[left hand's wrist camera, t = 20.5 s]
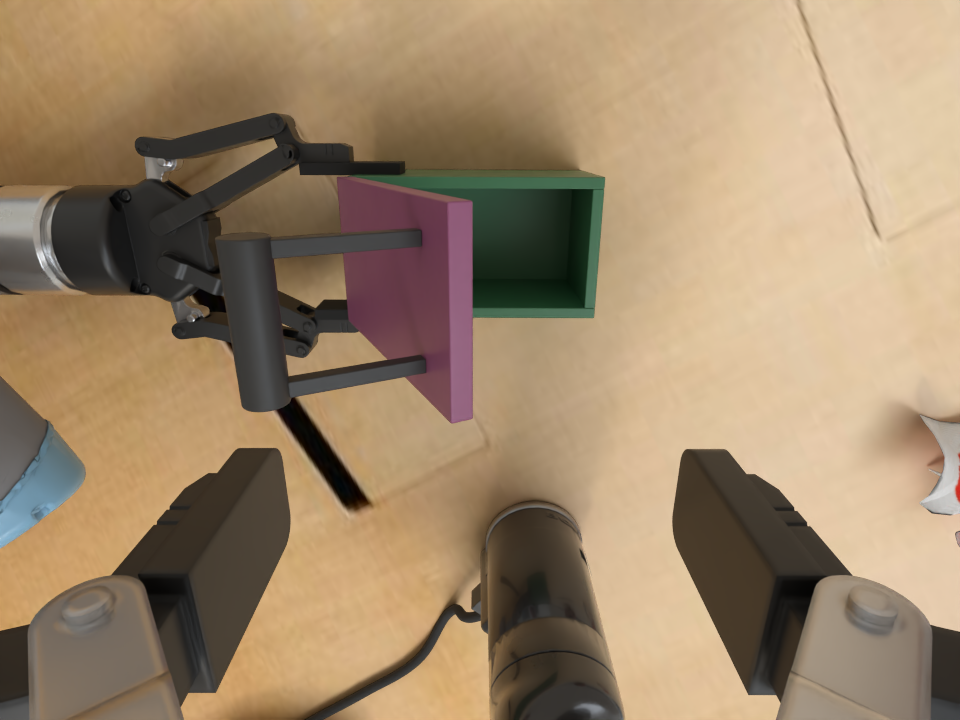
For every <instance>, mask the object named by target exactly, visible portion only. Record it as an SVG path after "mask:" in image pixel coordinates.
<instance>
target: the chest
mask: <svg viewBox="0 0 960 720" xmlns="http://www.w3.org/2000/svg"><path fill="white" fill-rule="evenodd" d="M348 177H357V178H362V179H367V180H372V181H377V182H382V183H387V184H392V185H397V186H402V187H407V188H412V189H417V190H422V191H427V192H432V193H437V194H442V195H446V196H451V197H456V198H461V199H466V200H471V201H472V221H473V318H594V311H595V299H596V286H597V274H598V261H599V248H600V236H601V223H602V210H603V198H604V186H605V177H602V176H598V175H595V174H592V173H588V172H585V171H581V170H426V169H405V173H403V174H401V175H351V176H348Z"/></svg>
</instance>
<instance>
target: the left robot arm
mask: <svg viewBox="0 0 960 720" xmlns="http://www.w3.org/2000/svg"><path fill="white" fill-rule="evenodd" d="M672 523H673V534H674V539H675V543H676V546H677V548H678V551H679V553H680V555H681V557H682V559H683V561H684V563H685V565H686V567H687V569H688V571H689V573H690V575H691V577H692V579H693V581H694V584H695V586H696V588H697V590H698V592H699V594H700V596H701V598H702V600H703V602H704V604H705V606H706V608H707V610H708V612H709V614H710V617H711V619H712V621H713V623H714V625H715V627H716V629H717V631H718V633H719V635H720V637H721V639H722V641H723V643H724V645H725V647H726V649H727V652H728V654H729V656H730V658H731V660H732V662H733V664H734V666H735V668H736V670H737V672H738V674H739V676H740V678H741V680H742V682H743V685H744V687H745V689H746V691H747V693H748V695H777V697H778V699H779V701H780V703H781V704H780V708H779V711H778V715H777V718H776V720H960V632H958V631H954V630H949V629H945V628H940V627H936V626H933V625H930V624H929V621H928V620H927V618H926V617H925V615H924V614H923V613H922V612H921V611H920V610H919V609H918V608H917V607H916V606H915V605H914V604H913V603H912V602H911V601H909V600H908V599H906V598H905V597H904V596H902V595H901V594H899V593H897V592H896V591H894V590H892V589H890V588H888V587H886V586H884V585H882V584H879V583H877V582H874V581H871V580H868V579H865V578H860V577H856V576H852V574H851V573H850V572H849V571H848V570H847V569H846V567H845V566H844V565H843V564H842V563H841V562H840V560H839V559H838V558H837V557H836V556H835V555H834V553H833V552H832V551H831V550H830V549H829V548H828V546H827V545H826V544H825V543H824V542H823V541H822V539H821V538H820V537H819V536H818V535H817V534H816V532H815V531H814V530H813V529H812V528H811V527H810V526H807V522H806V521H805V520H804V518H803V517H802V516H801V515H800V514H799V513H798V511H794V507H793V506H792V504H791V503H790V502H789V501H788V500H787V499H786V497H785V496H784V495H783V494H782V493H781V492H780V490H779V489H777V488H775V487H774V486H772V485H771V484H769V483H768V482H766V481H765V480H763V479H761V478H760V477H758V476H757V475H755V474H746V473H745V472H744V471H743V469H742V468H741V467H740V466H739V464H738V463H737V462H736V461H735V459H734V458H733V457H732V456H731V454H730V453H729V452H728V451H727V450H725V449H686V450H685V451H684V452H683V454H682V457H681V462H680V468H679V475H678V482H677V489H676V496H675V503H674V510H673V520H672ZM289 532H290V509H289V502H288V495H287V488H286V481H285V474H284V467H283V461H282V456H281V453H280V451H279V450H278V449H277V448H238V449H236V450H235V451H234V453H233V454H232V455H231V456H230V458H229V459H228V460H227V461H226V463H225V464H224V465H223V466H222V468H221V469H220V470H219V471H218V473H208V474H207V475H205V476H203V477H202V478H200V479H199V480H197V481H196V482H194V483H193V484H191V485H189V486H188V487H186V488H185V489H184V490H183V491H182V492H181V494H180V495H179V496H178V497H177V498H176V499H175V501H174V502H173V503H172V504H171V505H170V509H169V510H166V511H165V512H164V514H163V515H162V516H161V517H160V518H159V519H158V521H157V525H153V527H152V528H151V529H150V530H149V531H148V532H147V534H146V535H145V536H144V537H143V538H142V540H141V541H140V542H139V543H138V544H137V545H136V547H135V548H134V549H133V550H132V551H131V552H130V554H129V555H128V556H127V557H126V558H125V560H124V561H123V562H122V563H121V564H120V565H119V567H118V568H117V569H116V570H115V571H114V572H113V574H112V575H111V576H104V577H100V578H95V579H92V580H89V581H86V582H83V583H81V584H78V585H76V586H74V587H72V588H70V589H68V590H66V591H64V592H63V593H61V594H59V595H58V596H56V597H55V598H54V599H52V600H51V601H49V602H48V603H47V604H46V605H45V606H44V607H43V608H42V609H41V610H40V611H39V612H38V613H37V614H36V615H35V617H34V618H33V620H32V621H31V624H29V625H24V626H20V627H16V628H11V629H7V630H2V631H0V720H184V718H183V715H182V711H181V708H180V707H181V705H182V704H183V702H184V700H185V698H186V696H187V694H188V693H216V691H217V689H218V687H219V685H220V683H221V681H222V679H223V677H224V675H225V672H226V670H227V668H228V666H229V664H230V662H231V660H232V658H233V656H234V654H235V652H236V649H237V647H238V645H239V643H240V641H241V639H242V637H243V635H244V633H245V631H246V629H247V627H248V624H249V622H250V620H251V618H252V616H253V614H254V612H255V610H256V608H257V606H258V604H259V601H260V599H261V597H262V595H263V593H264V591H265V589H266V587H267V585H268V583H269V581H270V579H271V576H272V574H273V572H274V570H275V568H276V566H277V564H278V562H279V560H280V558H281V556H282V553H283V551H284V549H285V547H286V545H287V542H288V538H289ZM583 549H584V548H583V546H582V538H581V534H580V530H579V527H578V525H577V523H576V521H575V520H574V518H573V517H572V516H571V515H570V514H569V513H568V512H566V511H565V510H564V509H562V508H560V507H558V506H556V505H554V504H550V503H546V502H540V501H530V502H523V503H519V504H516V505H513V506H511V507H509V508H507V509H505V510H504V511H502V512H501V513H500V514H499V515H498V516H497V517H496V518H495V519H494V520H493V521H492V523H491V524H490V526H489V528H488V531H487V534H486V548H485V549H484V550H483V551H482V552H481V583H480V584H479V585H478V586H477V587H476V588H474V589H473V590H472V606H471V609H472V610H474V612H466V611H465V610H464V609H463V608H462V607H461V606H460V605H457V604H454V605H452V606H450V607H448V608H447V609H446V610H445V611H444V612H443V613H442V615H441V616H440V618H439V619H438V621H437V623H436V625H435V627H434V628H433V630H432V632H431V634H430V636H429V638H428V640H427V641H426V643H425V645H424V646H423V648H422V649H421V650H420V651H419V653H418V654H417V655H416V656H415V657H413V658H412V659H411V660H410V661H409V662H407V663H406V664H405V665H403V666H402V667H400V668H399V669H397V670H396V671H394V672H392V673H390V674H389V675H387V676H385V677H383V678H381V679H379V680H377V681H375V682H373V683H371V684H369V685H368V686H366V687H364V688H362V689H360V690H359V691H357V692H355V693H353V694H352V695H350V696H348V697H346V698H344V699H342V700H340V701H339V702H337V703H335V704H333V705H331V706H329V707H327V708H325V709H323V710H322V711H320V712H318V713H316V714H314V715H312V716H311V717H309V718H307V719H305V720H324V719H325V718H327V717H329V716H331V715H333V714H335V713H337V712H339V711H341V710H343V709H344V708H346V707H348V706H350V705H352V704H354V703H356V702H357V701H359V700H361V699H363V698H365V697H366V696H368V695H370V694H372V693H374V692H376V691H377V690H379V689H381V688H383V687H385V686H387V685H389V684H391V683H393V682H395V681H397V680H398V679H400V678H402V677H403V676H405V675H406V674H408V673H409V672H411V671H412V670H413V669H415V668H416V667H417V666H418V665H419V664H420V663H421V662H422V661H423V660H424V659H425V658H426V657H427V656H428V655H429V653H430V652H431V650H432V649H433V647H434V645H435V643H436V642H437V640H438V638H439V636H440V634H441V632H442V630H443V628H444V626H445V625H446V623H447V622H448V620H449V619H450V618H451V617H452V616H453V615H455V614H456V615H457V617H458V618H459V619H460V620H461V621H463V622H466V623H473V622H478V621H481V628H482V630H483V631H484V632H486V633H487V634H488V647H489V696H490V698H489V707H490V720H625V714H624V708H623V704H622V700H621V696H620V692H619V688H618V685H617V681H616V677H615V673H614V669H613V665H612V661H611V657H610V653H609V650H608V646H607V642H606V638H605V634H604V630H603V626H602V622H601V618H600V614H599V610H598V606H597V602H596V598H595V594H594V590H593V586H592V582H591V578H590V574H589V570H588V566H589V564H588V566H587V563H588V561H587V562H586V560H587V558H585V556H586V555H585V554H584V553H585V551H584V550H583ZM589 569H590V568H589ZM590 573H591V571H590ZM591 576H592V575H591Z"/></svg>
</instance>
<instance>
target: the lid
mask: <svg viewBox="0 0 960 720" xmlns="http://www.w3.org/2000/svg"><path fill="white" fill-rule="evenodd" d="M337 185H338V197H339V209H340V221H341V233H330V234H314V235H299V236H284V237H271V236H270V235H269V234H265V233H233V234H226V235H221V236H218V237H216V238H215V243H216V249H217V256H218V262H219V268H220V274H221V280H222V286H223V293H224V299H225V305H226V311H227V317H228V324H229V330H230V336H231V342H232V348H233V354H234V361H235V367H236V373H237V379H238V385H239V392H240V398H241V404H242V407H243V408H244V409H245V410H247V411H251V412H267V411H273V410H276V409H279V408H282V407H284V406H286V405H287V404H288V403H289V402H290V400H291V398H292V397H297V396H303V395H308V394H314V393H319V392H325V391H330V390H336V389H341V388H347V387H352V386H358V385H363V384H368V383H374V382H379V381H385V380H390V379H396V378H401V377H406V378H407V379H408V380H409V381H410V382H411V384H412V385H413V386H414V387H415V388H416V389H417V390H418V391H419V392H420V393H421V394H422V395H423V396H424V397H425V398H426V399H427V400H428V401H429V402H430V403H431V404H432V405H433V406H434V407H435V408H436V409H437V410H438V411H439V412H440V413H441V414H442V415H443V416H444V417H445V418H446V419H447V420H448V421H449V422H450V423H456V422H461V421H465V420H469V419H472V418H473V221H472V201H471V200H466V199H461V198H456V197H451V196H446V195H442V194H437V193H432V192H427V191H422V190H417V189H412V188H407V187H402V186H397V185H392V184H387V183H382V182H377V181H372V180H367V179H362V178H357V177H337ZM338 253H343V258H344V270H345V282H346V294H347V307H348V319H349V321H350V322H351V323H352V324H353V325H354V326H355V327H356V328H357V329H358V330H359V331H360V332H361V333H362V334H363V335H364V336H365V337H366V338H367V339H368V340H369V341H370V342H371V343H372V344H373V345H374V346H375V347H376V348H377V349H378V350H379V351H380V352H381V353H382V354H383V355H384V356H385V357H386V358H387V359H388V360H384V361H378V362H372V363H366V364H360V365H354V366H348V367H342V368H336V369H330V370H324V371H318V372H312V373H306V374H300V375H294V376H288V369H287V361H286V353H285V346H284V338H283V330H282V322H281V314H280V306H279V298H278V290H277V282H276V274H275V267H274V259H275V258H288V257H300V256H313V255H325V254H338Z"/></svg>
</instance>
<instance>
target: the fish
mask: <svg viewBox="0 0 960 720" xmlns="http://www.w3.org/2000/svg"><path fill="white" fill-rule="evenodd" d="M919 415H920V414H919ZM920 417H921V418H922V420H923V421H924V423H925V424H926V425H927V427H928V428H929V429H930V431H931V432H932V433H933V434H934V436H935V438H936V440H937V442H938V444H939V446H940V448H941V450H942V452H943V455H944V457H945V459H944V466H943V471H942V473H938V472H936V471H933V470H931V469H928V470H930V471H932V472H933V473H935V474H937V475H939V476H940V478H939V480H938V482H937V484H936V486H935V487H934V489H933V490H932V491H931V493H930V494H929V496H928V497H926V498H925V499H924V500H922V501H921V502H920V504H921V505H922V506H923V507H925V508H926V509H927V510H928V511H930V512H931V513H933V514H943V515H954V514H959V513H960V423H956V422H941V421H937V420H934V419H931V418H929V417H925V416H922V415H920ZM955 535H956V539H957V543H958V545H959V547H960V531H958V532H956V533H955Z"/></svg>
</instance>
